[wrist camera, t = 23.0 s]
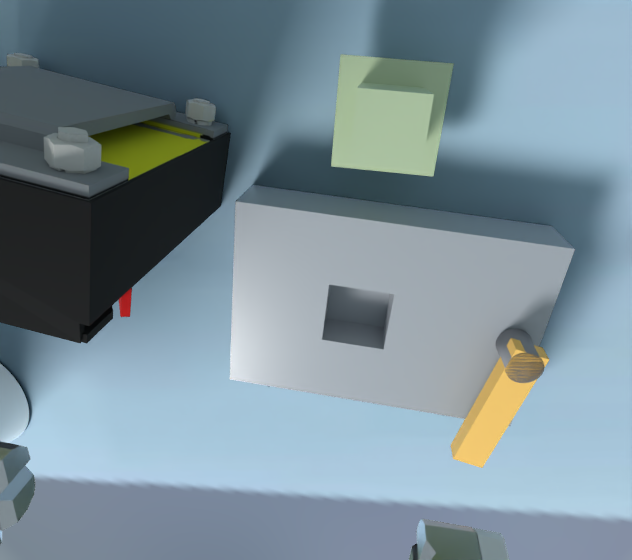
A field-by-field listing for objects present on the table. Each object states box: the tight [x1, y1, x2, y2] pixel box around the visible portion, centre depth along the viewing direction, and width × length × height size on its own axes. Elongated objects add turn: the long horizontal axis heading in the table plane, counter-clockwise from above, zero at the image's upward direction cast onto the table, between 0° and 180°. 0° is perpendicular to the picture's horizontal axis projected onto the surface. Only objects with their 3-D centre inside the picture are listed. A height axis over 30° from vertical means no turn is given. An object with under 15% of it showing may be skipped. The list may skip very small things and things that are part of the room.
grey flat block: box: [230, 185, 575, 426], centre depth 39 cm, size 24×16×5 cm, turn 84°
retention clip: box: [451, 329, 549, 468], centre depth 37 cm, size 11×3×3 cm, turn 164°
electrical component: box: [0, 53, 231, 343], centre depth 30 cm, size 18×10×20 cm, turn 77°
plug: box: [331, 55, 454, 177], centre depth 31 cm, size 7×7×11 cm
